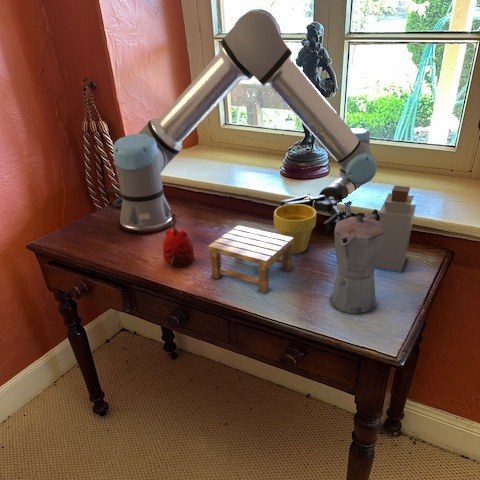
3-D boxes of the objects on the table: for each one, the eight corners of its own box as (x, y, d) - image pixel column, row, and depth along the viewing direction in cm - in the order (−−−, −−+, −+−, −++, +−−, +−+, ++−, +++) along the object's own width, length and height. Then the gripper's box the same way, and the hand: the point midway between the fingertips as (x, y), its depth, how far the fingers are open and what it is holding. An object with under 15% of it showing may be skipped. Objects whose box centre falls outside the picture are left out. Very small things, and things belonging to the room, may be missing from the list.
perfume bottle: (405, 258, 110) (419, 185, 99) (401, 271, 105) (415, 195, 95) (377, 254, 112) (387, 181, 102) (371, 266, 107) (382, 192, 97)
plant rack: (210, 277, 107) (207, 245, 102) (239, 254, 115) (238, 225, 110) (266, 293, 100) (266, 261, 95) (292, 268, 108) (293, 237, 104)
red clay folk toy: (196, 256, 115) (190, 199, 107) (192, 270, 110) (185, 210, 101) (167, 256, 116) (158, 199, 107) (161, 270, 110) (151, 211, 102)
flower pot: (312, 258, 112) (315, 221, 106) (271, 256, 114) (271, 219, 108) (315, 240, 120) (317, 204, 114) (276, 237, 122) (276, 202, 116)
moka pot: (315, 312, 93) (322, 220, 82) (346, 279, 103) (355, 192, 92) (360, 326, 89) (373, 231, 77) (387, 290, 99) (402, 201, 87)
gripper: (377, 217, 125) (344, 247, 111) (297, 200, 137) (258, 226, 124) (381, 190, 121) (347, 218, 107) (298, 176, 133) (258, 199, 119)
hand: (299, 222), depth 115 cm, fingers open, 13 cm apart
